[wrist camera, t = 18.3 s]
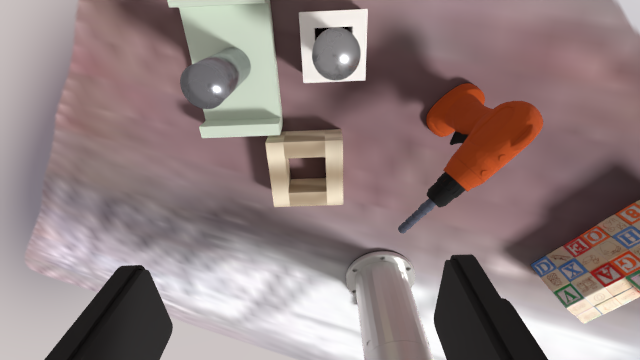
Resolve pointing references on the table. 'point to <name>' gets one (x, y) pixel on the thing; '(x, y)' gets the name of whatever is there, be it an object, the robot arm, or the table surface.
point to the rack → (258, 44)
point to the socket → (306, 147)
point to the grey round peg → (215, 77)
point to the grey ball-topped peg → (336, 54)
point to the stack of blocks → (597, 266)
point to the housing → (325, 20)
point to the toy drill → (475, 141)
